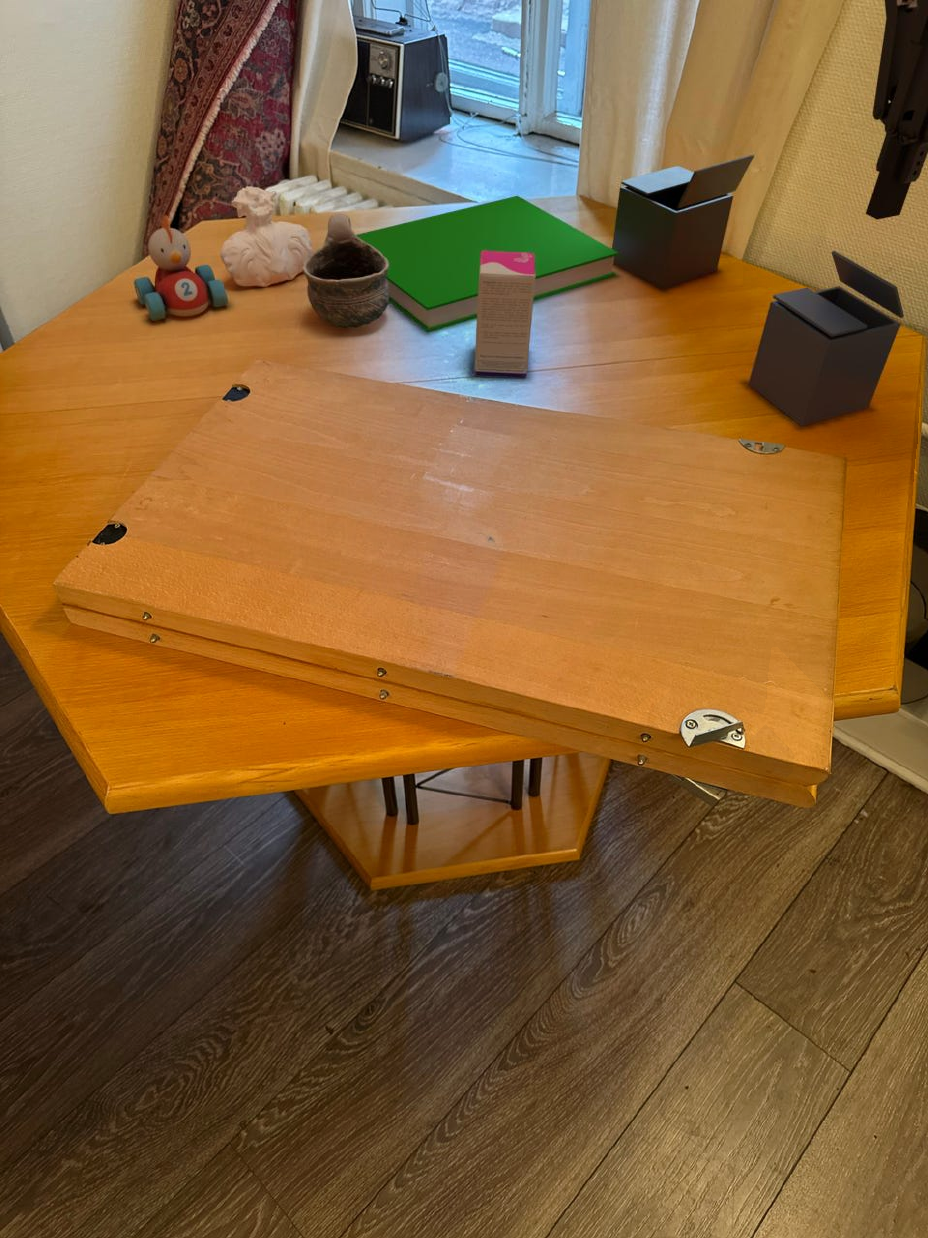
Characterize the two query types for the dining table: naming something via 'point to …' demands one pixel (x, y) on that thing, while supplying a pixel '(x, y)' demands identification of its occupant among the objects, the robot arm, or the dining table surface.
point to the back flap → (715, 181)
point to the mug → (346, 277)
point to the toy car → (177, 278)
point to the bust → (264, 243)
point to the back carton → (668, 229)
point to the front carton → (821, 353)
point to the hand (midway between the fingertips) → (882, 214)
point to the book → (450, 257)
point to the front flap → (868, 284)
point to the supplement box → (504, 313)
